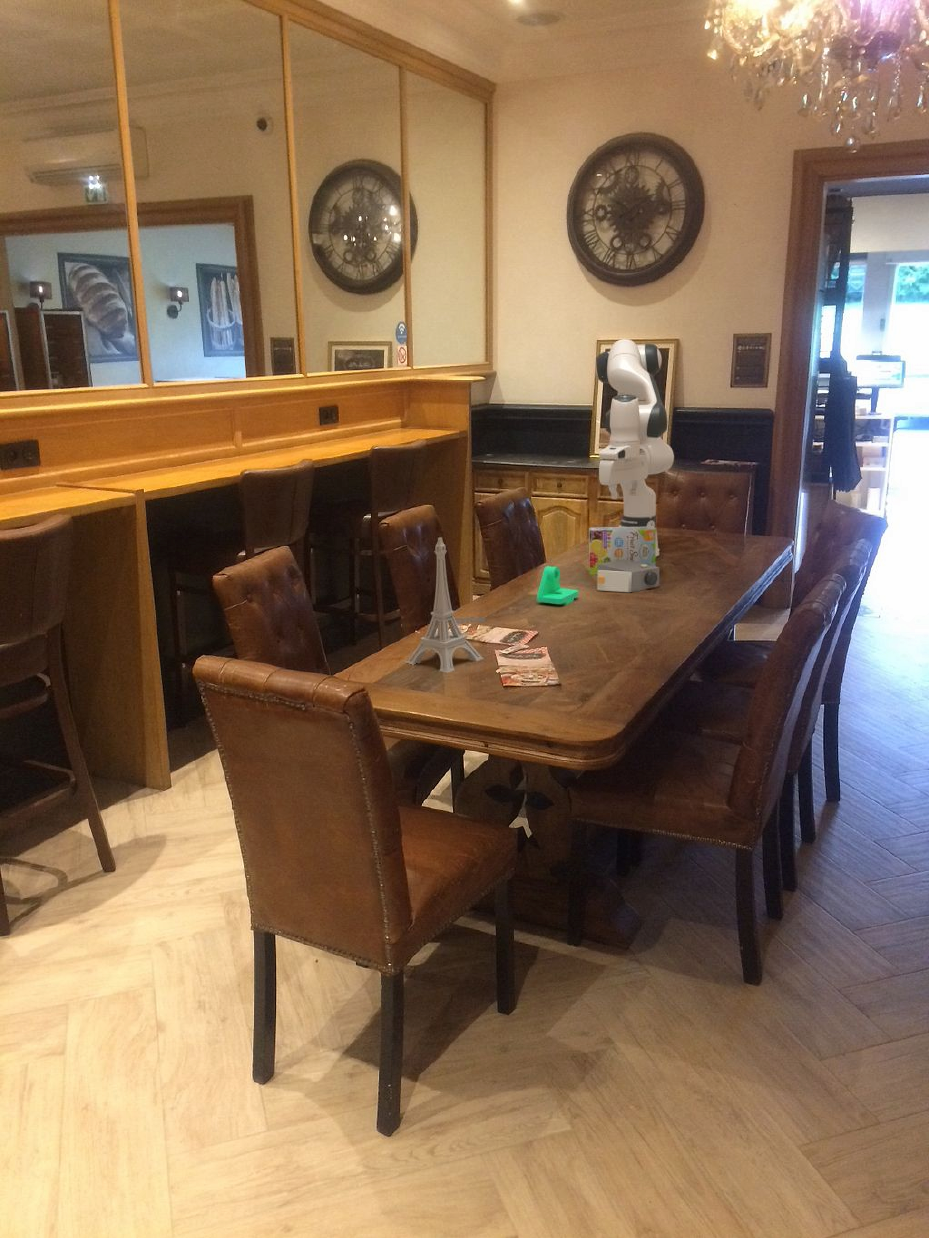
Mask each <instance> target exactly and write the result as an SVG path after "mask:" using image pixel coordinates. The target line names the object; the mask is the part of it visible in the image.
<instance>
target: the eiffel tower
mask: <svg viewBox="0 0 929 1238" xmlns="http://www.w3.org/2000/svg"><path fill="white" fill-rule="evenodd" d="M446 547H447V546H446V544H444V541H443V537H438V538H437V543H436V545H435V549H434V553H435V555H436V579H435V581H436V582H435V591H434V592H435V595H434V603H433V611H431V612H430V615H431V619H430V622H429V625H428V628H427V630H426V633H425V635H424V636H423V637H420V639H419V640H420V643H419V644H418V646H417V647H416V648H415V650H414V651H413V653H412V654H411V655H409V658H408V659H407V660H406V661H405V662H404V664H406V663H409V664H408V665H410V664H412V665H411V666H415V665H414V664H416V663H418V664H420V663H422V661H421V658H422V657H423V655H424V654H425V653H426V652H427V651H428V650H433V651H434V654H435V653H436V654H437V655H438V656H439V661H440V668H439V670H438V672H441V673H445V674H450V673H453V672H455V671H456V669H455V668H454V664H453V655H454V652H455V651H456V650H457V649H462V650H463V651H464V652H465V653H466V655H467V656H468V658H467V661H471V662H476V663H477V662H479V661H482V660H484V659H485V658H484V657H482V656H481V654H480V652H478V651H477V650H476V649H475V648H474V647H473V645H472V644H471V643H470V642H469V640H467V638H468V635H466V634H463V633H462V631H461V629H460V627H459V624H458V623H457V621H456V618H455V615H454V614H455V613H456V611H454V610H453V609H452V608H453V607H452V603H451V598H450V592H449V585H448V577H447V569H446V568H447V567H446V553H447V549H446ZM449 630H450V631H449ZM416 665H417V664H416Z"/></svg>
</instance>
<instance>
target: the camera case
mask: <svg viewBox="0 0 929 1238" xmlns="http://www.w3.org/2000/svg"><path fill="white" fill-rule="evenodd" d="M598 570H606V571H624V572H632V592H633V593H634V592H637V591H639V592H640V591H643V590H649V589H653V588H658V586H659V587H660V566H656V565H655V566H651V565H647V564H643V563H638V562H634V561H630V560H625V559H622V560H617V561H611V562H606V563H600V564H597V575H596V576H597V580H596V583H597V584H598Z"/></svg>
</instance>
